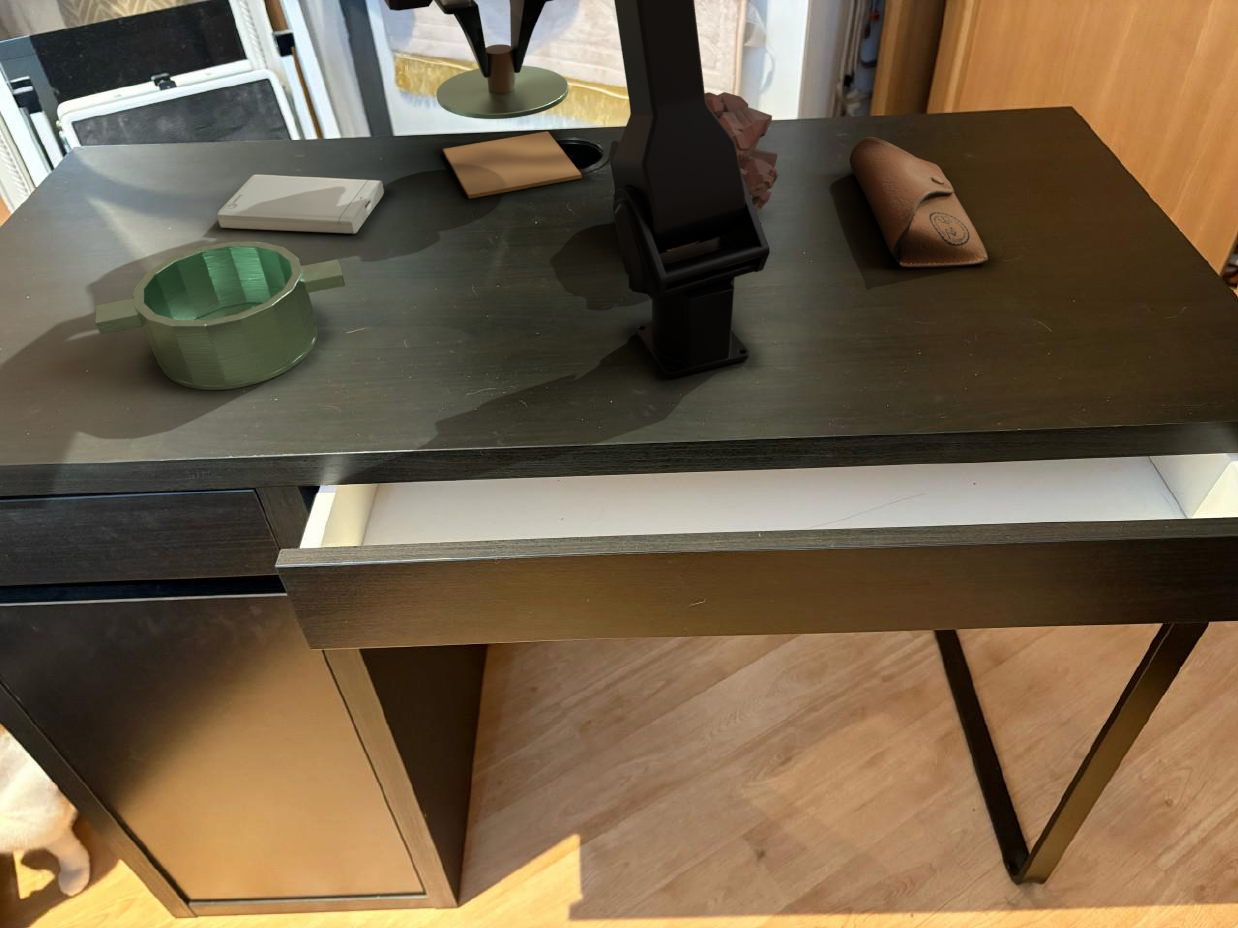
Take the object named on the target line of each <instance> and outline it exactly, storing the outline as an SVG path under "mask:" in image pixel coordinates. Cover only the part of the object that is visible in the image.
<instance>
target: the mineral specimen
mask: <svg viewBox="0 0 1238 928" xmlns="http://www.w3.org/2000/svg"><path fill="white" fill-rule="evenodd" d="M705 97H706V102H707V105H708V106H709V107H710V109H711V110H712V111H713V113H714V114H715V115H716V117H717V118H718V119H719V121H720V122H721V123H722V125H723V126H724V127H725V129H726V130H727V131H728V133H729V134H730V135H731V137H732V138H733V139H734V141H735V144H736V149H737V154H738V159H739V165H740V170H741V173H742V175H743V177H744V180H745V183H746V185H747V188H748V191H749V194H750V196H751V199H752V202H753V205H754V207H755V210H756V213H757V214H758V213H759V212H760V211H761V210H762V209H763V207H764V206H765V205H766V203H768V202H769V199H770V197H771V195H772V192H771V191H768V190H771V189H772V188H773V186H774V183H776V181H777V180H778V178H779V173H778V170H777V169H776V168H775V167H776V164H777V161H778V153H775V152H771V151H766V150H762V149H758V148H757V146H758V144H759V142H760V140H761V138H763V137H764V136H766V134H767V131H768V129H769V127H770V125H771V123H772V121H773V115H771V114H769V113H766V112H764V111H761V110H757V109H755V108H752V107H750V106H749V103H748V102H747V101H746V100H745V99H744V98H743V97H742V96H739V95H737V94H734V93H730V92H726V91H723V92H720V93H719V94H716V93H713V92H710V91H708V92H705ZM614 196H615V189H614V190H613V191H612V198H613V199H614ZM698 243H700V241H698V242H694V243H691V244H687V245H683V246H680V247H676V248H673V249H669V250H665V252H669V251H672V250H676V249H680V248H683V247H687V246H690V245H694V244H698Z"/></svg>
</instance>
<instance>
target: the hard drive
mask: <svg viewBox="0 0 1238 928" xmlns="http://www.w3.org/2000/svg"><path fill="white" fill-rule="evenodd" d="M384 193H385V189H384V185H383V181H382V180H378V179H377V180H376V179H356V178H355V179H354V178H338V177H337V178H335V177H319V176H318V177H317V176H315V177H314V176H291V175H274V174H253V175H252V176H251V177H250V178H248V180H246V182H244V184H243V185H242V186H241V187H240V188H239V189H238V190H237V191H236V192H235V193H234V195H232V197H231V198H229V200H228V201H227V202H226V203H225V204H224V205H223V206H222V207H221V208H220V209H219V211H218V212H217V214H216V215H217V220H218V224H219V227H220V228H224V229H225V228H226V229H245V230H246V229H247V230H265V231H266V230H268V231H290V232H310V233H311V232H312V233H331V234H332V233H335V234H353V235H355V234H357V233H358V231H359V230H360V228H361V227H362V226H363V224H364V223H365V222H366V220H367V219H368V217H369V216H370V214H371V213H372V211H374V209H375V207H376V206H377V204H379V202H380V200H381V199H382V198H383V197H384Z"/></svg>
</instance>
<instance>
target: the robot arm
mask: <svg viewBox="0 0 1238 928" xmlns="http://www.w3.org/2000/svg"><path fill="white" fill-rule="evenodd" d="M383 1H384V3H385V4H386V6H387V8H388V9H389V10H390V11H397V12H399V11H401V12H402V11H409V10H416V9H422V8H429V7H430V6H431V4H432V3H433V1H434V3H435V4H436V6H437V7H438V8H439V9H440V10H441V11H442V13H443V14H444V15H448V16H449V15H453V16H454V17H455V19H456V21H457V23H458V25H459V26H460V28H461V30H462V32H463V34H464V37H465V39H466V41H467V43H468V46H469V48H470V50H471V53H472V54H473V55H472V56H473V57H474V60H475V62H476V64H477V66H478V69H479V68H480V71H481V73H482V75H483V76H484V78H488V77H489V65H488V57H487V52H486V47H487V46H486V40H485V36H484V30H483V24H482V19H481V18H482V17H481V13H480V8H479V4H478V3H477V2H476V0H383ZM553 1H554V0H509V12H510V13H509V17H510V18H509V20H510V23H509V24H510V25H509V26H510V29H509V31H510V46H511V47H512V48H513V55H514V66H515V73H520V71H521V68H522V66H524V65H523V64H524V61H525V58H526V55H527V51H528V48H529V45H530V41H531V39H532V35H533V32H534V29H535V28H536V25H537V24H538V23H537V22H538V21H539V18H540V17H541V15H542V12H543V9H544V8H545V5H546V3H548V2H553ZM613 2H614V9H615V16H616V21H617V29H618V35H619V41H620V48H621V55H622V62H623V63H622V64H623V69H624V76H625V83H626V89H627V96H628V102H629V104H628V105H629V113H630V114H629V117H628V120H627V122H626V125H625V128H624V131H623V133H622V136H621V138H620V139H615V140H613V141H611V143H610V146H609V150H608V160H609V164H610V168H611V174H612V179H613V189H614V190H615V196H614V198H613V205H612V212H613V220H614V223H615V230H616V235H617V241H618V246H619V252H620V258H621V263H622V265H623V268H624V272H625V273H626V275H627V276H628V288H629V290H631V291H632V292H633V293H638V294H643V295H646V294H647V295H648V297H650V298H651V321H650V322H646V323H642V324H641V323H640V324H638V325H636V326H635V330H634V331H635V335H636V336H637V338H638V340H639V341H640V342H641V344H642V345H643V347H644V348H645V350H646V351H647V353H648V354H649V355H650V357H651V359H652V360H653V361H654V363H655V364H656V366H657V368H658V369H659V370H660V372H661V373H662V374H663V376H664V377H666V378H669V379H673V378H676V377H681V376H686V375H689V374H693V373H698V372H702V371H706V370H710V369H714V368H718V367H723V366H726V365H730V364H735V363H739V362H742V361H746V360H748V359H749V357H750V350H749V348H748V347H746V346H745V345H746V344H744V343H743V341H741V339H740V338H739V337H738V336H737V334H736V333H735V332H734V331H733V329H732V327H733V326H732V325H733V311H734V295H735V281H736V279H735V278H737V277H741V276H744V275H747V274H750V273H758V272H761V271H764V268H765V266H766V263H767V261H768V258H769V255H770V252H771V251H770V250H771V249H770V246H769V243H768V240H767V237H766V235H765V232H764V230H763V229H764V228H763V227H762V224H761V221H760V218H759V216H758V212H757V213H756V210H755V207H754V205H753V202H752V199H751V196H750V194H749V191H748V188H747V185H746V183H745V180H744V177H743V175H742V173H741V170H740V165H739V159H738V154H737V149H736V144H735V141H734V139H733V138H732V137H731V135H730V134H729V133H728V131H727V130H726V129H725V127H724V126H723V125H722V123H721V122H720V121H719V119H718V118H717V117H716V115H715V114H714V113H713V111H712V110H711V109H710V107H709V106H708V105H707V102H706V97H705V93H706V92H705V82H704V74H703V65H702V57H701V48H700V39H699V32H698V31H699V30H698V22H697V21H698V20H697V12H696V6H695V5H696V4H695V0H613ZM708 239H709V240H708ZM698 241H699V242H698ZM694 242H697V243H696V244H694V245H690V246H687V247H683V248H680V249H676V250H672V251H665V250H669V249H673V248H676V247H680V246H683V245H687V244H691V243H694ZM664 251H665V252H664ZM661 252H662V253H661Z"/></svg>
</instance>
